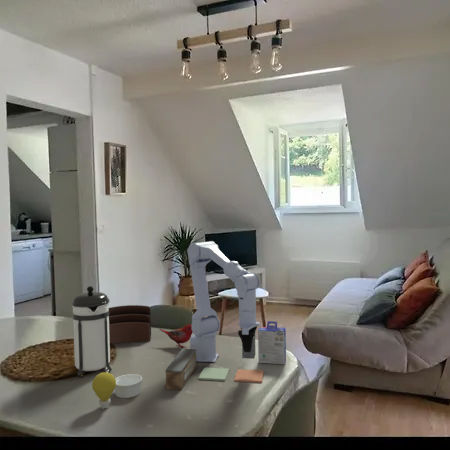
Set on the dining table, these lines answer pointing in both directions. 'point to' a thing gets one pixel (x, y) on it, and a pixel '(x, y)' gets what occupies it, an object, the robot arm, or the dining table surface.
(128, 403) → the dining table surface
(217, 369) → the sage mat
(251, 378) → the terracotta mat
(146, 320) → the letter holder
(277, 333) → the ink cartridge box
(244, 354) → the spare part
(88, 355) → the coffee press
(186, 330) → the decorative bird figurine
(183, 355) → the block
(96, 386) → the light bulb
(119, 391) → the ramekin
